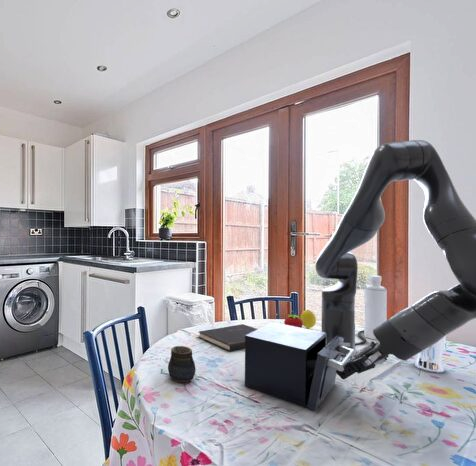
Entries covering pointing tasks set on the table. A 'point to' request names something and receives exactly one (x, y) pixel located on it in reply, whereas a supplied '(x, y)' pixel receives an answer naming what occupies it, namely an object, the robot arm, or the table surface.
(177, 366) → the mate gourd
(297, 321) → the strawberry
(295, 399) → the oven
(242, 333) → the hardcover book
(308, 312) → the lemon
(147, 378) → the table surface
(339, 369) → the oven door
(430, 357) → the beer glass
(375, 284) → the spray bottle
